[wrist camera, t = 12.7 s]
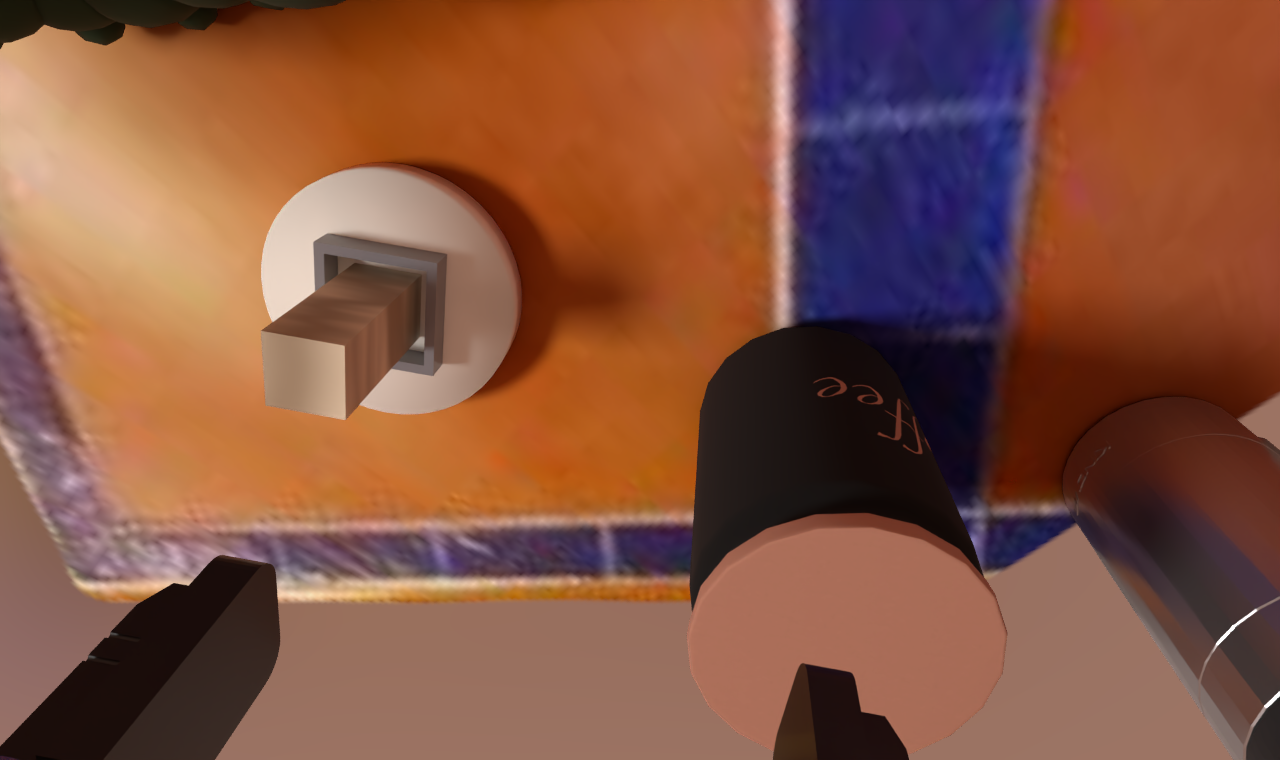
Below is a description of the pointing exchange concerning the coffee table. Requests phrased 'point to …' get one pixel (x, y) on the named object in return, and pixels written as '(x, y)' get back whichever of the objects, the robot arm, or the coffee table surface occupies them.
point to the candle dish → (412, 242)
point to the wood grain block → (341, 340)
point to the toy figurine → (120, 15)
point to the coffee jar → (831, 545)
